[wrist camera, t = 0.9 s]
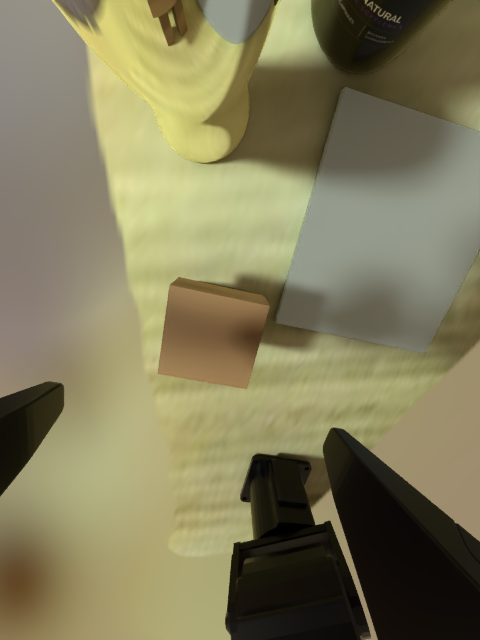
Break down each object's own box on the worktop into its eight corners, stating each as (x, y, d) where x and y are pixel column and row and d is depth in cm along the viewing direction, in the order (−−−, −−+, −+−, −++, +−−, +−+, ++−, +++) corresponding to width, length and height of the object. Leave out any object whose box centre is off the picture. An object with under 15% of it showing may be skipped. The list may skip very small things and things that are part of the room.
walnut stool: (241, 344, 21) (246, 389, 15) (178, 332, 21) (157, 373, 14) (256, 283, 19) (269, 306, 13) (188, 268, 19) (169, 284, 13)
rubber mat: (420, 350, 22) (425, 353, 22) (274, 320, 21) (275, 323, 20) (522, 151, 17) (532, 149, 17) (340, 92, 16) (344, 86, 15)
